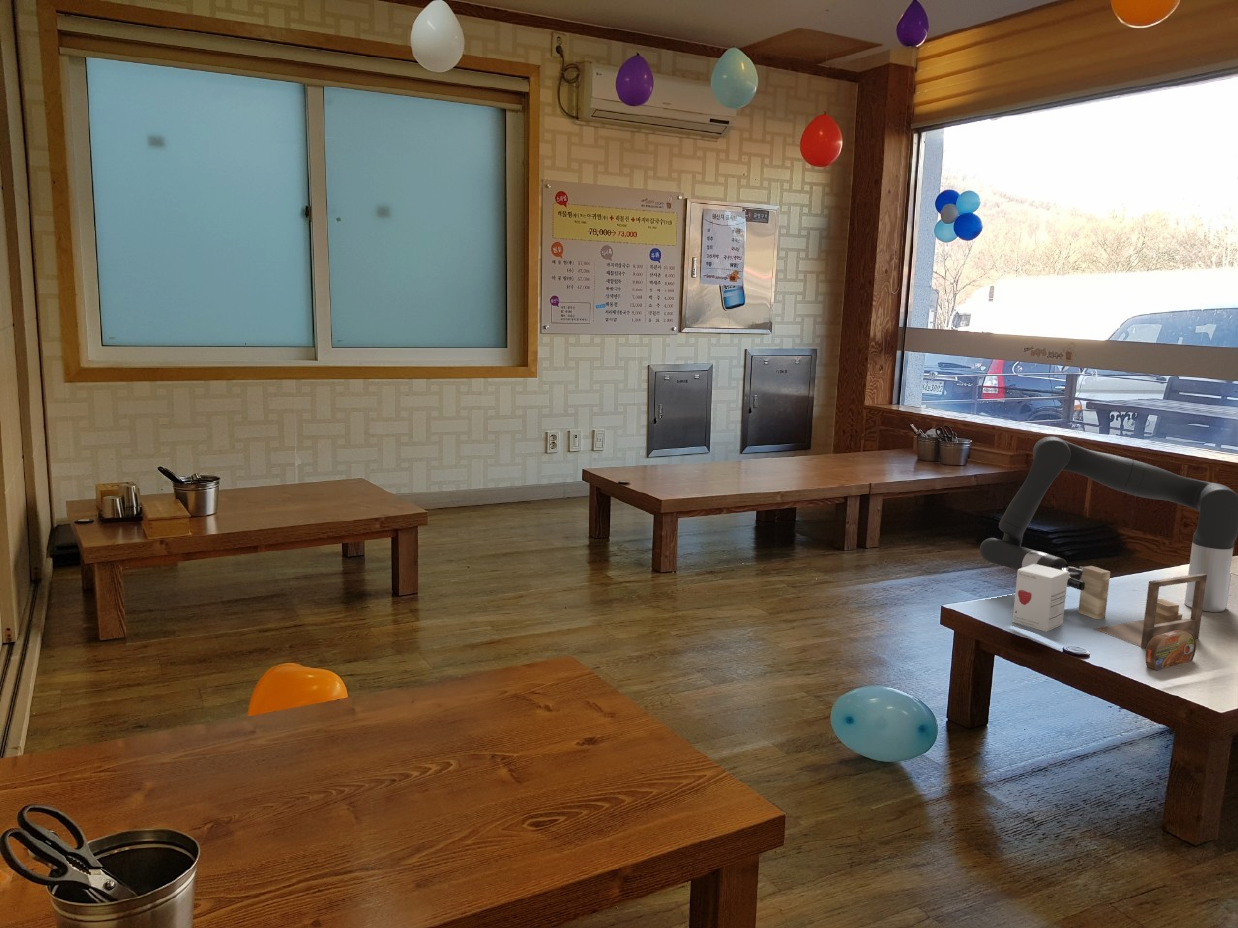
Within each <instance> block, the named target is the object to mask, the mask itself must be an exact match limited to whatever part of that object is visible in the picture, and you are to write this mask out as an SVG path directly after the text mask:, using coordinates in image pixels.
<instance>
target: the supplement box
mask: <svg viewBox="0 0 1238 928" xmlns="http://www.w3.org/2000/svg"><path fill="white" fill-rule="evenodd" d="M1016 572H1017V573H1016V581H1015V593H1014V601H1013V602H1014V604H1013V611H1012V612H1013V613H1012V620H1011V621H1012V623H1011V626H1012V627H1014V628H1018V629H1021V630H1025V631H1028V632H1032V633H1036V632H1035V631H1032V630H1029V629H1027V628H1024V627H1023V626H1025V627H1028V628H1032V629H1036V630H1038V631H1039V630H1040V631H1042V632H1049V631H1052V630H1054V629H1056V628H1058V627H1060V626H1062V625H1063V622H1064V614H1065V613H1064V612H1065V604H1066V597H1067V596H1066V595H1067V588H1068V587H1067V581H1068V574H1069V572H1067V571H1063V570H1058V569H1054V568H1051V567H1046V566H1042V565H1038V564H1032V565H1029V566H1027V567H1023V568H1020V569H1018V571H1016ZM1021 625H1022V626H1021Z"/></svg>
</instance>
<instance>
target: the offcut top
mask: <svg viewBox="0 0 1238 928" xmlns="http://www.w3.org/2000/svg"><path fill="white" fill-rule="evenodd" d="M1179 610H1180V604H1177V603H1174V602H1172V601H1169V600H1167V599H1164V598H1158V601H1157V609H1156V612H1158V613H1161V614H1164V615H1166V616H1170V615H1178V613H1180V611H1179Z"/></svg>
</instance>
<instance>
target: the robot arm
mask: <svg viewBox="0 0 1238 928" xmlns="http://www.w3.org/2000/svg"><path fill="white" fill-rule="evenodd" d="M1032 455H1033V460H1032V463H1031V466H1030V469H1029V472H1028V474H1027V476H1026V478H1025V480H1024V481H1023V483H1022V485H1021V486H1020V488H1019V490H1018V491H1017V492H1016V493H1015V495H1014V497H1013V498H1012V500H1011V501H1010V503H1009V504H1008V506H1007V508H1006V510H1005V511H1004V513H1003V514H1002V517H1001V519H1000V521H999V523H998V528H999V530H1000V531H1002V532H1003V537H1002V539H999V538H995V537H989V538H986V539H984V540H983V541H982V542H981V543H980V546H979V553H980V556H981V558H982V559H983V560H985V561H986V562H989V563H992V564H996V565H998V566H1002V567H1006V568H1009V569H1012V570H1014V571H1016V572H1017V571H1018V569H1020V568H1023V567H1027V566H1029V565H1032V564H1038V565H1042V566H1046V567H1051V568H1054V569H1058V570H1063V571H1067V572H1069V574H1068V581H1067V588H1070V587H1071V588H1073V589H1076V590H1078V591H1081V590H1084V588H1085V583H1084V582H1083V581H1082V573H1083V567H1084V566H1079V567H1078V568H1077V567H1076V566H1075V567H1074V566H1069V564H1068V562H1067V561H1066V560H1065V559H1064V558H1062V557H1059V556H1057V555H1056V556H1055V555H1052V554H1049V553H1046V552H1043V551H1038V550H1035V549H1030V548H1028V547H1026V546H1022V543H1023V537H1024V535H1025V534H1024V533H1025V532H1026V530H1027V528H1028V527H1029V524H1030V523H1031V521H1032V519H1033V517H1034V515H1035V513H1036V512H1037V509H1038V508H1039V507H1040V506H1039V505H1040V504H1041V502H1042V500H1043V498H1044V496H1045V495H1046V493H1047V491H1048V490H1049V488H1050V487H1051V486H1052V484H1053V482H1054V481H1055V479H1056V478H1057V477H1058V476H1059V475H1060V473H1061V472H1062V471H1065V472H1070V473H1072V474H1077V475H1081V476H1084V477H1085V478H1088V479H1090V480H1092V481H1094V482H1096V483H1099V484H1101V485H1102V486H1106V487H1108V488H1110V489H1113V490H1115V491H1118V492H1122V493H1125V494H1128V495H1132V496H1135V497H1140V498H1145V499H1152V500H1159V501H1167V502H1168V501H1169V502H1172V503H1174V504H1175V503H1176V504H1178V505H1181V506H1184V507H1187V508H1190V509H1192V510H1195V511H1197V512H1199V515H1198V520H1197V527H1196V529H1195V531H1194V533H1193V536H1192V542H1191V543H1192V544H1191V550H1190V558H1189V565H1188V566H1189V567H1188V571H1187V572H1188V573H1187V576H1188V575H1194V574H1201V573H1203V574H1206V575H1207V579H1206V587H1205V594H1204V601H1203V609H1202V612H1203V611H1204V612H1209V613H1210V612H1213V613H1214V612H1215V613H1219V612H1220V613H1221V612H1224V611H1225V610H1226V609H1227V608H1228V600H1229V594H1230V586H1231V581H1232V574H1231V568H1232V561H1233V560H1232V559H1233V554H1234V547H1235V542H1236V541H1237V538H1238V493H1237V492H1236V491H1234V490H1233V489H1231V488H1230V487H1229V486H1227V485H1224V484H1221V483H1215V482H1209V481H1205V480H1199V479H1195V478H1190V477H1186V476H1182V475H1178V474H1176V473H1173V472H1172V471H1168V470H1167V469H1164V468H1160V467H1158V466H1154V465H1152V464H1149V463H1146V462H1143V461H1139V460H1135V459H1132V458H1129V457H1124V456H1119V455H1115V454H1111V453H1105V452H1100V451H1095V450H1092V449H1087V448H1085V447H1081V446H1079V445H1077V444H1074V443H1071V442H1069V441H1067V440H1064V439H1062V438H1061V437H1057V436H1045V437H1043V438H1041V439H1039V440H1038V441H1036V443H1035V444H1034V446H1033V450H1032ZM1194 589H1195V581H1194V582H1188V583H1186V588H1185V594H1184V595H1185V596H1184V605H1185V606H1187V607H1189V608H1191V609H1192V604H1193V596H1194Z"/></svg>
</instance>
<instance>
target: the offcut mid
mask: <svg viewBox="0 0 1238 928" xmlns="http://www.w3.org/2000/svg"><path fill="white" fill-rule="evenodd" d="M1179 620H1183V614H1182V613H1180V612H1178V615H1170V616H1166V615H1164V614H1161V613H1158V612H1156V617H1155V622H1158V623H1167V622H1173V621H1179Z"/></svg>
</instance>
